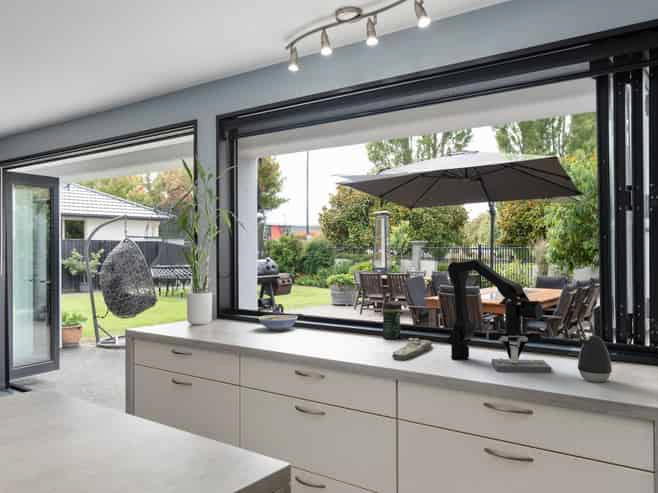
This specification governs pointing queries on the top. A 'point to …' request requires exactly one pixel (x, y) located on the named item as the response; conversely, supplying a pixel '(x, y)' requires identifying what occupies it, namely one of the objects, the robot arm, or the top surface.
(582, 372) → the dark grey speaker
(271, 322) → the ramen bowl
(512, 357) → the white small cylinder
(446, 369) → the top surface
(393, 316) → the coffee jar
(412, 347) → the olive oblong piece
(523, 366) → the console
